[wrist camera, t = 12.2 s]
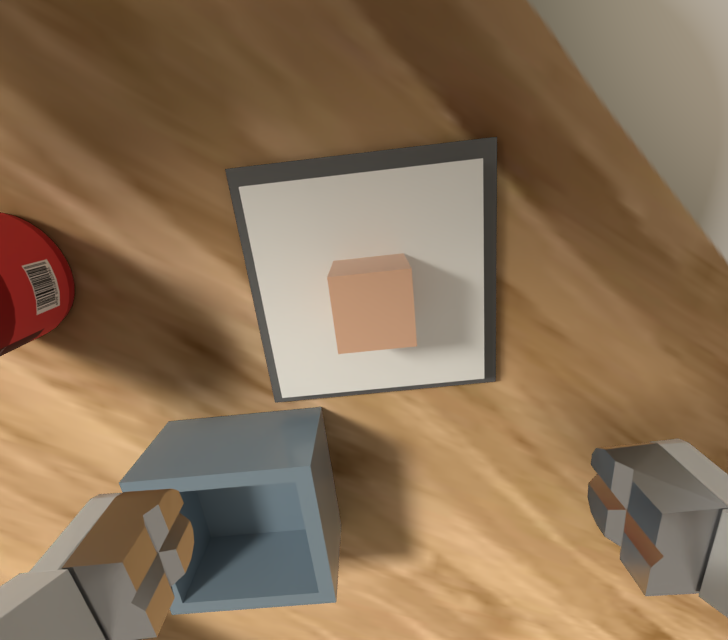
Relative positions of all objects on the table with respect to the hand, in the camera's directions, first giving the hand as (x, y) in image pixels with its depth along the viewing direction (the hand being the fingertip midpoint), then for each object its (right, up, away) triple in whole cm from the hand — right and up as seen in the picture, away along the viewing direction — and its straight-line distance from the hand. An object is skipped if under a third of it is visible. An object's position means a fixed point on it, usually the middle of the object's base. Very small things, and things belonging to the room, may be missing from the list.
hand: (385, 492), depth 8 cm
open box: (-8, -8, +22) cm, 25 cm away
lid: (0, +5, +16) cm, 17 cm away
